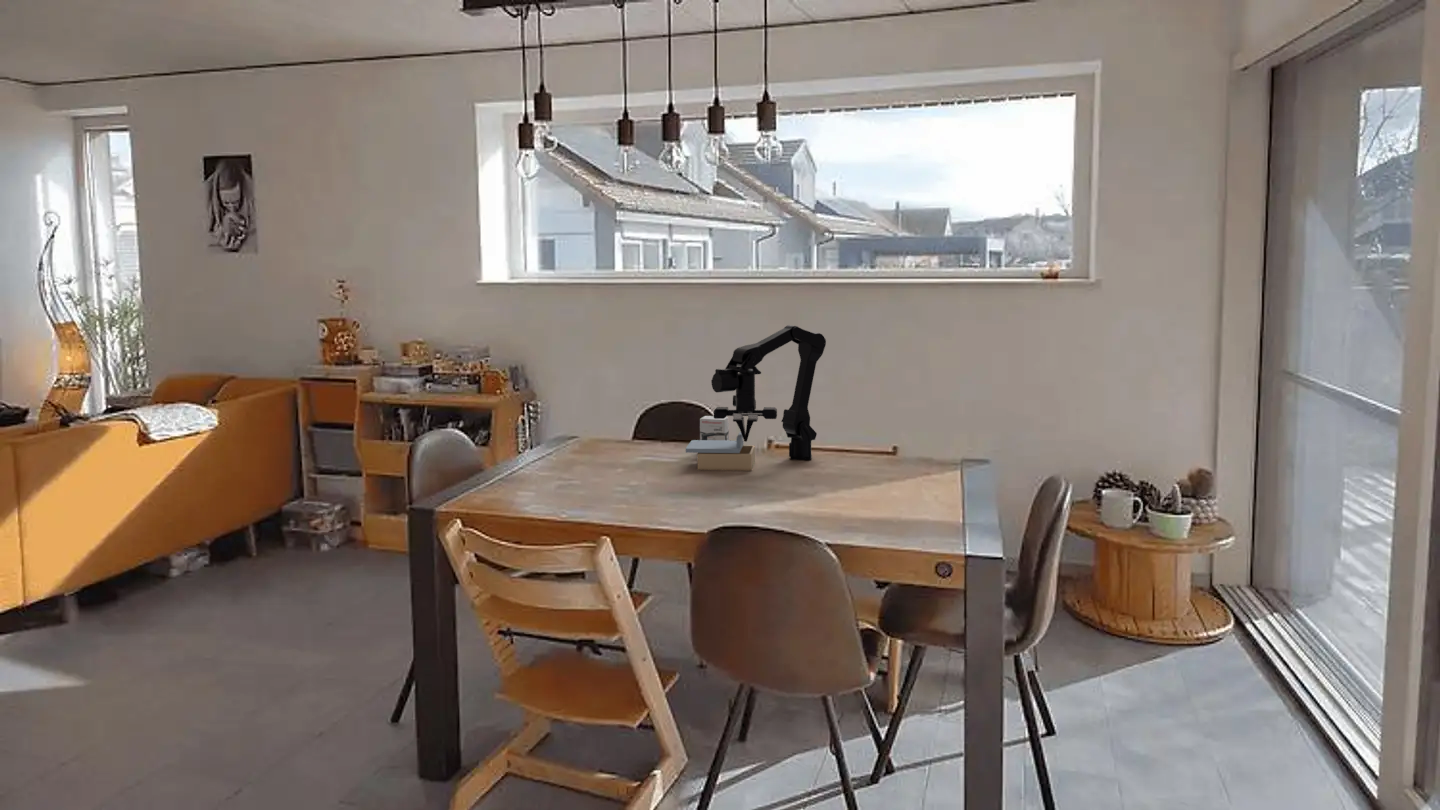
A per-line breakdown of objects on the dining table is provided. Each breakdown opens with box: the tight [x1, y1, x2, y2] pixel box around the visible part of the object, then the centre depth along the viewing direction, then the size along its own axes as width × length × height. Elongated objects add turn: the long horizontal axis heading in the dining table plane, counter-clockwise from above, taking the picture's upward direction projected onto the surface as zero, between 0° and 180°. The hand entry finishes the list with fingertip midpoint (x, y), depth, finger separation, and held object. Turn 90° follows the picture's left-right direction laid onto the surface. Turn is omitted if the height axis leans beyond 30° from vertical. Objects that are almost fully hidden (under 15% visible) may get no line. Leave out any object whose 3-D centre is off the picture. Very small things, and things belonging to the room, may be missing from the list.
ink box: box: [699, 415, 730, 440], centre depth 335 cm, size 8×5×12 cm, turn 73°
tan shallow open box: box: [697, 444, 756, 472], centre depth 316 cm, size 16×14×5 cm
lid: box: [685, 431, 744, 454], centre depth 316 cm, size 16×14×4 cm
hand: (745, 441), depth 315 cm, fingers closed
